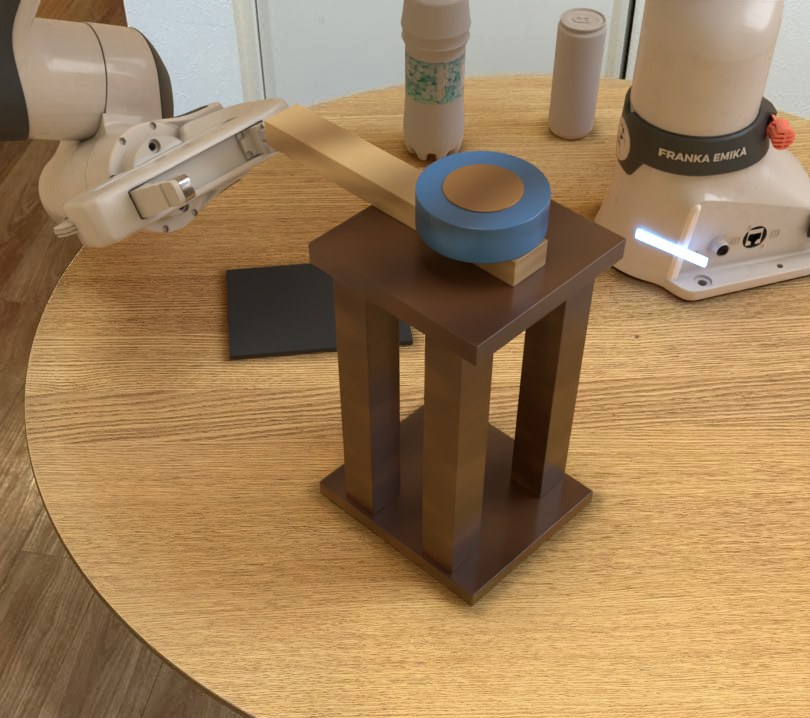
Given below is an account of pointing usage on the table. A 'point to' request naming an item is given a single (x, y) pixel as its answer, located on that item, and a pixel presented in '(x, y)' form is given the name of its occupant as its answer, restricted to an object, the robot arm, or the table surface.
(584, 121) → the beverage can
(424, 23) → the bottle
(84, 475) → the table surface
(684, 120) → the robot arm
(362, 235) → the stand
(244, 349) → the mat
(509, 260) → the tan long bar
